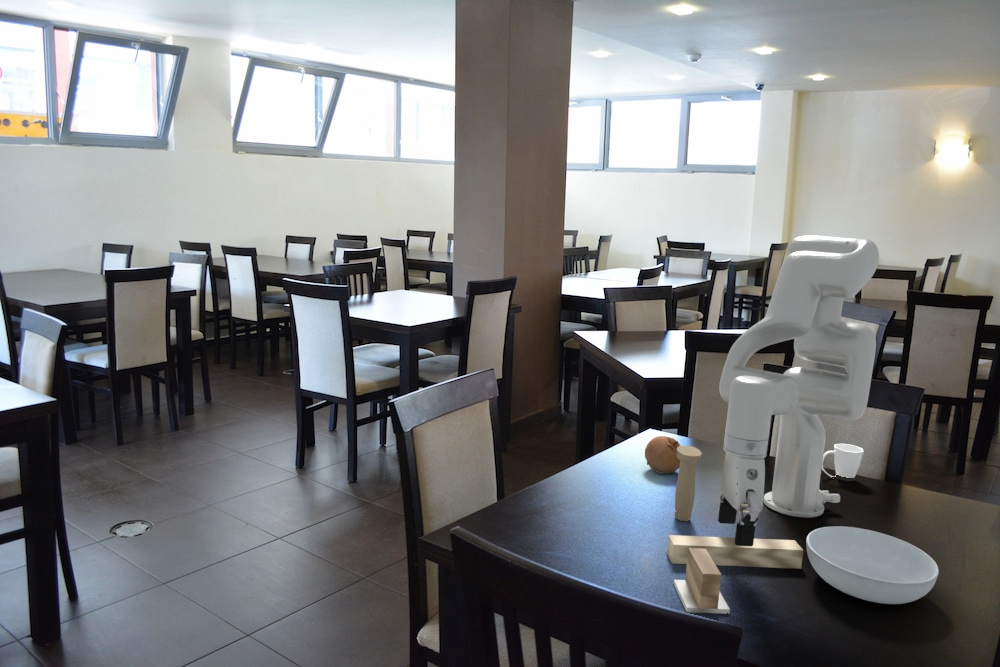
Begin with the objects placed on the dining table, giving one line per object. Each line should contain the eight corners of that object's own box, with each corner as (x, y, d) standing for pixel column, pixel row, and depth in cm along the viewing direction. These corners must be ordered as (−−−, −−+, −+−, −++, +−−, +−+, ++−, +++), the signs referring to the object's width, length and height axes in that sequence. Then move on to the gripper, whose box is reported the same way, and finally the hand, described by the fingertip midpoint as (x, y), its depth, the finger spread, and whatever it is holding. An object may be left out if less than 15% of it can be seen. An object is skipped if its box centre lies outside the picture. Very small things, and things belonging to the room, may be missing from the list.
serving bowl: (873, 631, 118) (879, 591, 117) (776, 569, 137) (781, 534, 136) (961, 607, 126) (967, 570, 125) (858, 552, 145) (863, 519, 144)
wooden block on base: (713, 585, 130) (717, 549, 128) (729, 613, 121) (733, 575, 120) (673, 583, 130) (676, 547, 128) (686, 612, 121) (690, 573, 119)
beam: (792, 559, 141) (794, 540, 141) (800, 570, 137) (803, 550, 137) (666, 554, 141) (668, 535, 140) (671, 564, 137) (673, 544, 136)
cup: (865, 484, 182) (870, 453, 180) (825, 483, 181) (829, 451, 180) (851, 474, 189) (855, 443, 187) (812, 472, 188) (816, 442, 187)
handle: (690, 513, 160) (697, 446, 157) (697, 526, 154) (704, 456, 151) (668, 511, 160) (674, 445, 157) (674, 524, 154) (680, 455, 151)
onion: (676, 486, 183) (696, 456, 178) (643, 477, 181) (662, 447, 176) (666, 460, 191) (685, 431, 186) (633, 452, 189) (652, 422, 184)
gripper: (784, 461, 126) (772, 556, 129) (749, 432, 143) (739, 516, 146) (740, 458, 126) (729, 553, 129) (711, 429, 143) (701, 514, 146)
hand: (734, 533), depth 137 cm, fingers open, 9 cm apart
